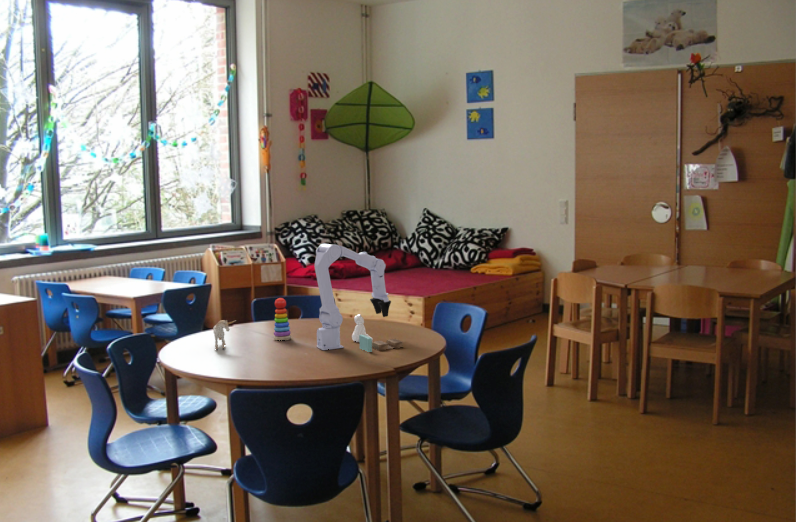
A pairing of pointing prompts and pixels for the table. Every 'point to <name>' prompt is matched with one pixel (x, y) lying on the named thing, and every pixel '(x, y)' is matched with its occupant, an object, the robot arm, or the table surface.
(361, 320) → the sitting furry creature
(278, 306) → the stacking toy
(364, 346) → the teal rectangular block
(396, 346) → the slot block
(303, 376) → the table surface
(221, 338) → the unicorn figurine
